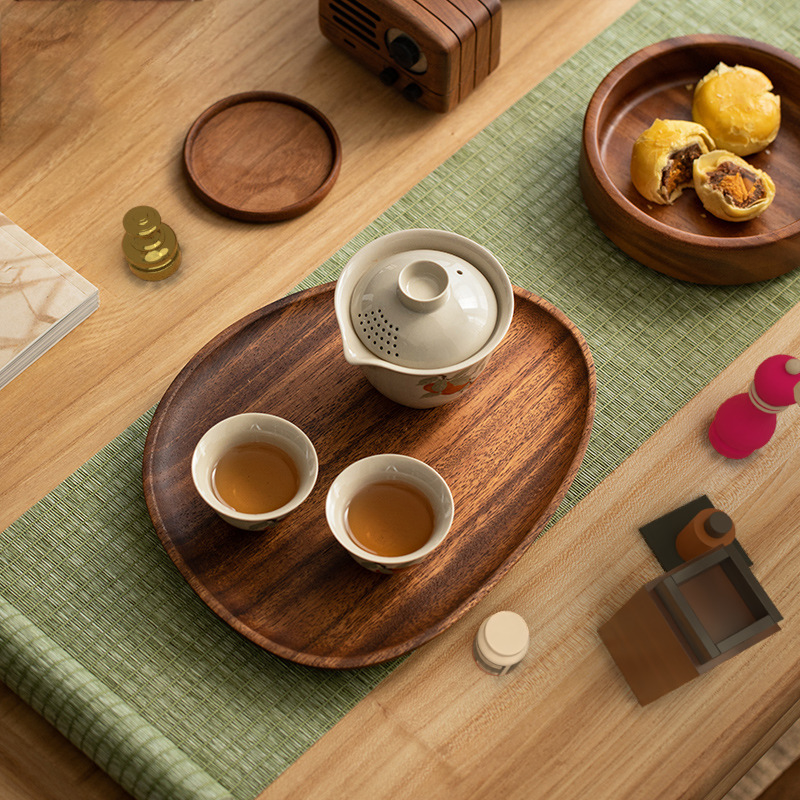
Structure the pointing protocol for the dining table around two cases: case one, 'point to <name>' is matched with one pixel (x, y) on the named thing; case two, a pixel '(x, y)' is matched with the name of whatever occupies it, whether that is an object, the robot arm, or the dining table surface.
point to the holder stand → (688, 623)
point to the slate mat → (670, 525)
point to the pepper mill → (755, 408)
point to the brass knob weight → (149, 244)
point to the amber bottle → (705, 533)
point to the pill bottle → (501, 643)
